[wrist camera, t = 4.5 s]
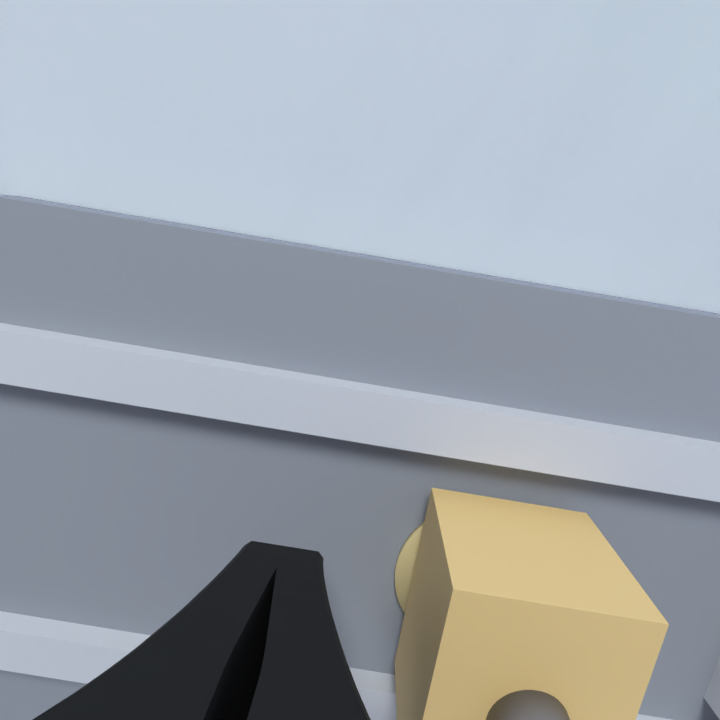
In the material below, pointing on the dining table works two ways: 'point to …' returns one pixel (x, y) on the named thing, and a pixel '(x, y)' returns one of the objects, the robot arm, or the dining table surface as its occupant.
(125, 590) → the gauge plate
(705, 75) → the dining table surface
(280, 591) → the robot arm
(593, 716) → the slider
